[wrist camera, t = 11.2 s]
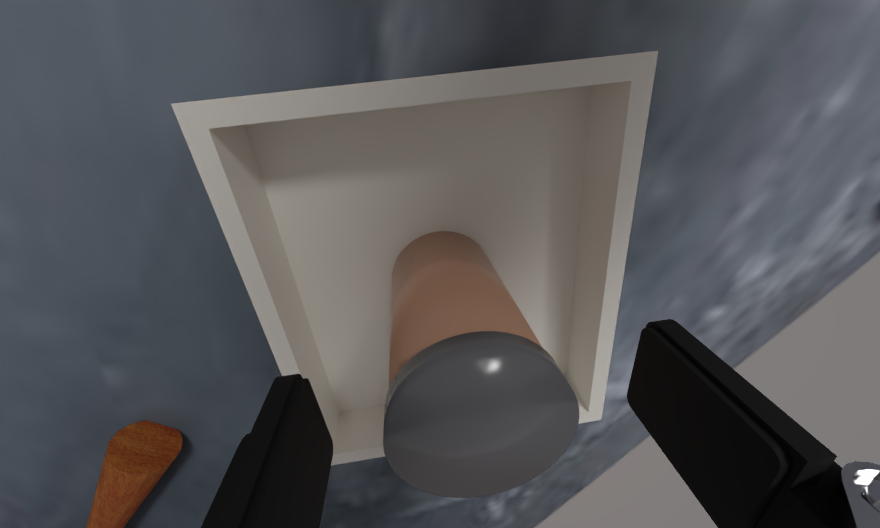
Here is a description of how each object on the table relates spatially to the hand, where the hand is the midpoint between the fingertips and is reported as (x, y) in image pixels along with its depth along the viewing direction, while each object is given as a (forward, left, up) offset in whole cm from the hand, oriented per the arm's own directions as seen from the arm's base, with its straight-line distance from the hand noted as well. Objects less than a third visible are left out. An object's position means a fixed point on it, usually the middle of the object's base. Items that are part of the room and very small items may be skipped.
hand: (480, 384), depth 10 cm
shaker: (+1, 0, -8) cm, 8 cm away
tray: (+1, 0, -9) cm, 9 cm away
